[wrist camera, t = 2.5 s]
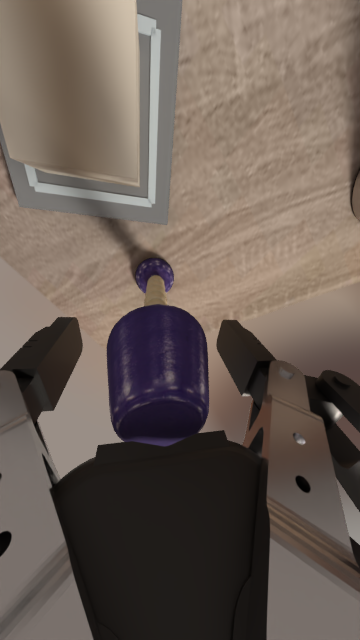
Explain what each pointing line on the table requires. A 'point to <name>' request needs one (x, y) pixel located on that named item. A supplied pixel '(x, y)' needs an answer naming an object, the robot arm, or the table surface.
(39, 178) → the slate board
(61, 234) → the table surface
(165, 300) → the toy lamp
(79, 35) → the cream block
